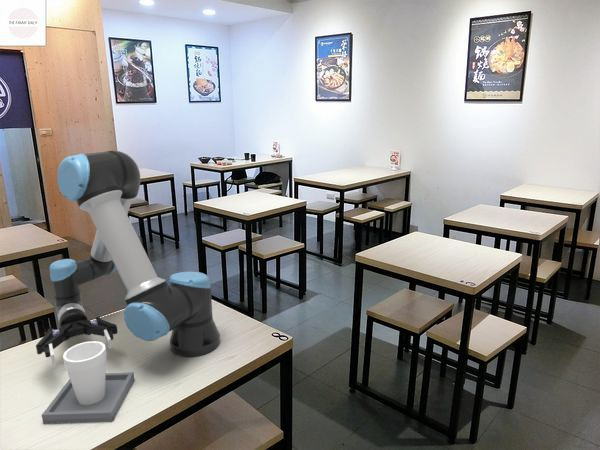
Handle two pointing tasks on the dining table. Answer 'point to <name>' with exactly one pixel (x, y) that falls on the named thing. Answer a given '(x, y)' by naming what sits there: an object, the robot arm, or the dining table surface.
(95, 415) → the serving tray
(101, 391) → the foam cup
